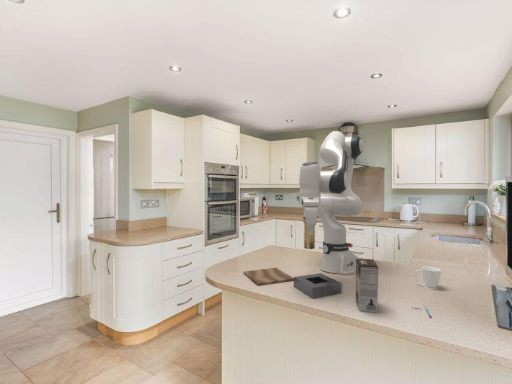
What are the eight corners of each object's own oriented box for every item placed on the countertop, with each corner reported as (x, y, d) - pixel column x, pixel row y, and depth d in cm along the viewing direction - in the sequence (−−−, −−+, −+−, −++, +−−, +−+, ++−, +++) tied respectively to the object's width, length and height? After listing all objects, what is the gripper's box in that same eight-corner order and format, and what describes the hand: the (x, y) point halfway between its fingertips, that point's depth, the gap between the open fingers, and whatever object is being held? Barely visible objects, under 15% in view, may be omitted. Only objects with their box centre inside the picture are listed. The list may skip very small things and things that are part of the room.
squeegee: (407, 297, 107) (422, 299, 106) (407, 300, 107) (422, 301, 106) (414, 314, 93) (431, 317, 91) (414, 317, 93) (431, 319, 91)
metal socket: (320, 282, 125) (320, 273, 125) (341, 293, 112) (341, 283, 112) (293, 286, 119) (293, 276, 119) (312, 298, 107) (312, 288, 106)
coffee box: (354, 300, 105) (355, 258, 105) (372, 301, 104) (373, 259, 103) (358, 311, 96) (359, 264, 96) (378, 312, 95) (379, 266, 94)
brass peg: (302, 246, 121) (302, 216, 120) (315, 246, 120) (315, 216, 120) (303, 249, 115) (303, 217, 115) (316, 249, 115) (317, 218, 114)
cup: (442, 291, 114) (442, 272, 114) (414, 287, 119) (414, 268, 119) (439, 286, 121) (439, 267, 121) (413, 282, 125) (413, 264, 125)
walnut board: (276, 269, 143) (276, 267, 143) (294, 280, 127) (294, 278, 126) (243, 273, 136) (243, 271, 136) (257, 285, 120) (257, 283, 120)
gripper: (300, 199, 128) (300, 229, 128) (303, 202, 107) (303, 237, 108) (314, 199, 127) (314, 229, 127) (320, 202, 107) (319, 238, 107)
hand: (309, 233), depth 118 cm, fingers closed on brass peg, 5 cm apart
